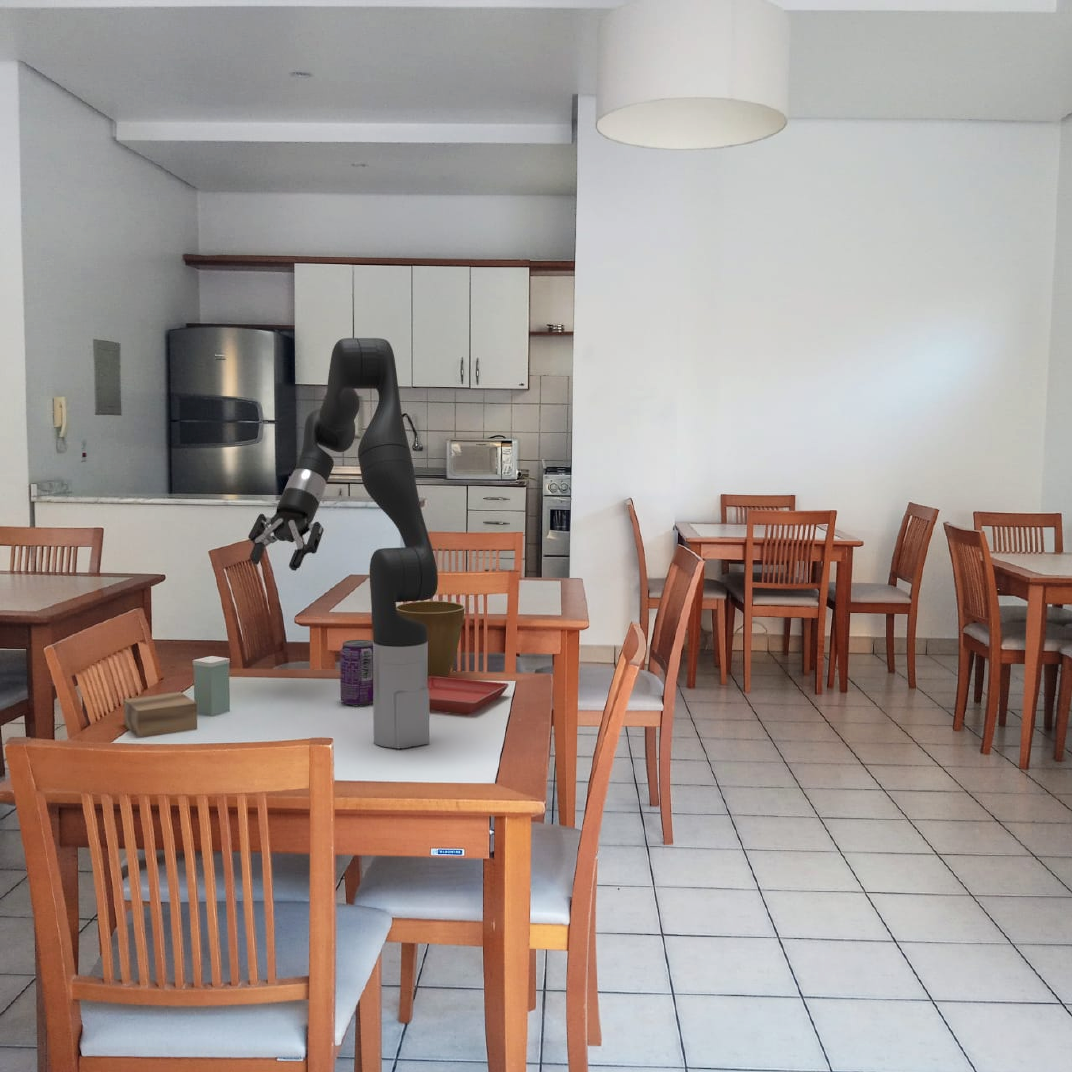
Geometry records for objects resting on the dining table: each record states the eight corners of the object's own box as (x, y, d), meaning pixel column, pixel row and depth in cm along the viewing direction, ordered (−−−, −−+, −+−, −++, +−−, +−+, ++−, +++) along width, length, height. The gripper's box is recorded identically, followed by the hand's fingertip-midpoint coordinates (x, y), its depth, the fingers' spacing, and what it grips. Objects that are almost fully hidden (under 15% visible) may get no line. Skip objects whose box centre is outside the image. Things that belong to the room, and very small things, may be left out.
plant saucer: (429, 690, 215) (429, 674, 215) (510, 698, 209) (510, 682, 208) (388, 710, 198) (388, 693, 198) (474, 720, 192) (474, 702, 192)
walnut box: (197, 730, 183) (196, 703, 182) (138, 739, 177) (138, 711, 177) (180, 718, 191) (180, 691, 191) (124, 726, 185) (123, 699, 185)
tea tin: (230, 711, 195) (229, 658, 195) (211, 716, 191) (210, 663, 190) (212, 707, 198) (211, 655, 197) (193, 713, 194) (192, 660, 193)
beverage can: (381, 698, 206) (380, 639, 205) (371, 707, 199) (371, 646, 198) (346, 697, 206) (345, 638, 205) (336, 706, 199) (335, 645, 198)
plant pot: (388, 674, 228) (388, 602, 226) (453, 669, 233) (453, 599, 232) (404, 689, 214) (404, 613, 213) (473, 684, 219) (473, 609, 218)
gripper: (263, 482, 208) (233, 551, 201) (327, 490, 204) (298, 561, 197) (278, 502, 214) (249, 569, 207) (340, 510, 210) (312, 579, 203)
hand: (273, 565), depth 202 cm, fingers open, 8 cm apart
